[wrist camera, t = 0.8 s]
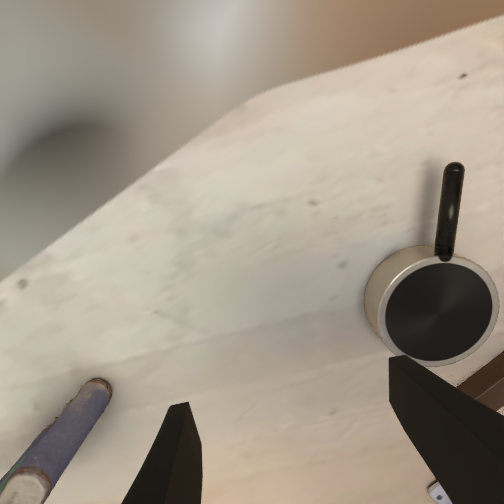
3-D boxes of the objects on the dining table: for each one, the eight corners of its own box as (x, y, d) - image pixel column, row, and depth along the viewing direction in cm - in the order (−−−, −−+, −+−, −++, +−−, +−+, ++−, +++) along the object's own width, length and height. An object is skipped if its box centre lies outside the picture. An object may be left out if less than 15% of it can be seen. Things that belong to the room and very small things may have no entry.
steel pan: (463, 345, 26) (492, 369, 23) (360, 345, 26) (374, 369, 23) (491, 162, 23) (529, 160, 20) (373, 163, 23) (392, 162, 20)
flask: (95, 371, 27) (-5, 497, 17) (124, 393, 28) (44, 529, 17) (30, 440, 29) (-97, 594, 18) (58, 460, 29) (-51, 621, 19)
